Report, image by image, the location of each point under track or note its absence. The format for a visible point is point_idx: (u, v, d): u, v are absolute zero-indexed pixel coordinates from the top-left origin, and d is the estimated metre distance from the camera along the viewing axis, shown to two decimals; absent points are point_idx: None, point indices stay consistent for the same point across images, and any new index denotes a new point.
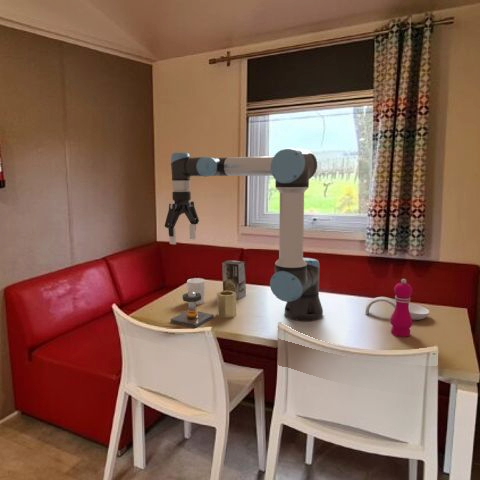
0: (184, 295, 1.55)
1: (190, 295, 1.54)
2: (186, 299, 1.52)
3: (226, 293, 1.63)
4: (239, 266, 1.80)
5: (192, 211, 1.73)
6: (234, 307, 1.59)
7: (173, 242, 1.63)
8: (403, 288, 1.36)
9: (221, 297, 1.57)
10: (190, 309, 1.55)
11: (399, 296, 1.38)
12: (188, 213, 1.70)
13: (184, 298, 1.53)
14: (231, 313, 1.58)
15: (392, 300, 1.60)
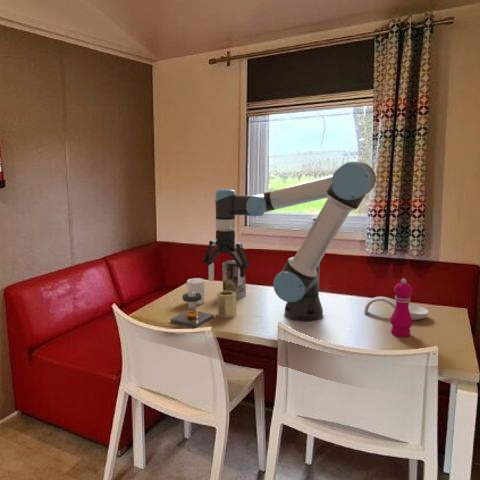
0: (184, 295, 1.55)
1: (190, 295, 1.54)
2: (186, 299, 1.52)
3: (226, 293, 1.63)
4: None
5: None
6: (234, 307, 1.59)
7: None
8: (403, 288, 1.36)
9: (221, 297, 1.57)
10: (190, 309, 1.55)
11: (399, 296, 1.38)
12: None
13: (184, 298, 1.53)
14: (231, 313, 1.58)
15: (391, 300, 1.60)
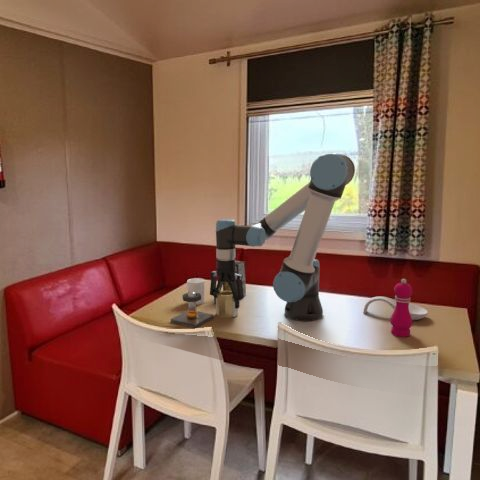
0: (184, 295, 1.55)
1: (190, 295, 1.54)
2: (186, 299, 1.52)
3: (226, 293, 1.63)
4: (239, 266, 1.80)
5: None
6: None
7: None
8: (403, 288, 1.36)
9: (221, 297, 1.57)
10: (190, 309, 1.55)
11: (399, 296, 1.38)
12: None
13: (184, 298, 1.53)
14: (231, 313, 1.58)
15: (390, 300, 1.61)
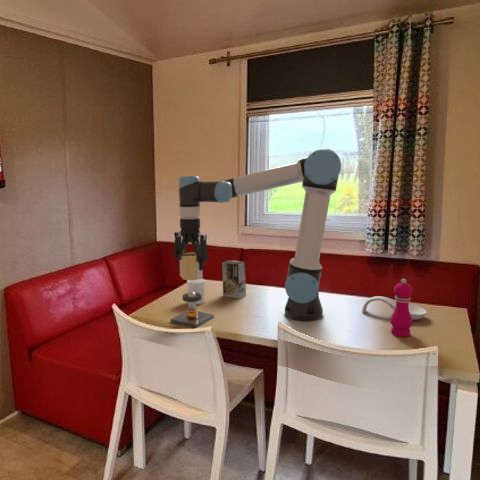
0: (184, 295, 1.55)
1: (190, 295, 1.54)
2: (186, 299, 1.52)
3: (191, 255, 1.55)
4: (239, 266, 1.80)
5: None
6: None
7: None
8: (403, 288, 1.36)
9: (184, 258, 1.50)
10: (190, 309, 1.55)
11: (399, 296, 1.38)
12: None
13: (184, 298, 1.53)
14: (195, 275, 1.51)
15: (389, 300, 1.61)
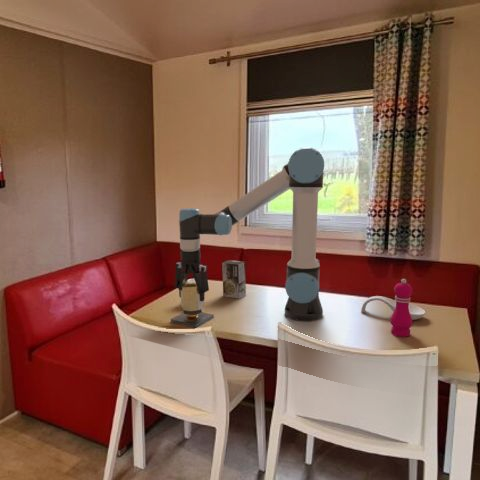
0: None
1: None
2: (186, 312, 1.53)
3: (192, 285, 1.57)
4: (239, 266, 1.80)
5: None
6: None
7: None
8: (403, 288, 1.36)
9: (185, 289, 1.52)
10: None
11: (399, 296, 1.38)
12: None
13: (184, 311, 1.54)
14: (196, 306, 1.53)
15: (388, 300, 1.61)
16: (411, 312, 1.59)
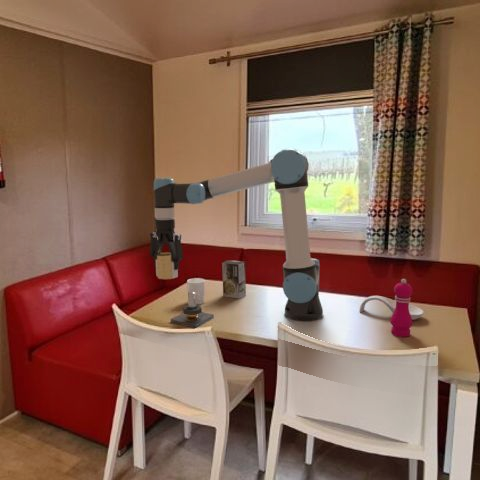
0: (184, 308, 1.56)
1: (190, 295, 1.54)
2: (186, 312, 1.53)
3: (167, 255, 1.60)
4: (239, 266, 1.80)
5: None
6: None
7: None
8: (403, 288, 1.36)
9: (159, 257, 1.54)
10: (190, 309, 1.55)
11: (399, 296, 1.38)
12: None
13: (184, 311, 1.54)
14: (170, 274, 1.55)
15: (387, 299, 1.61)
16: (410, 312, 1.59)
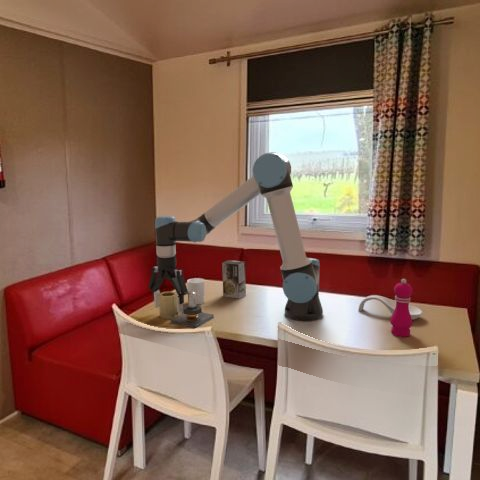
0: (184, 308, 1.56)
1: (190, 295, 1.54)
2: (186, 312, 1.53)
3: (169, 294, 1.63)
4: (239, 266, 1.80)
5: None
6: (175, 308, 1.59)
7: None
8: (403, 288, 1.36)
9: (161, 298, 1.57)
10: (190, 309, 1.55)
11: (399, 296, 1.38)
12: None
13: (184, 311, 1.54)
14: (172, 314, 1.58)
15: (386, 299, 1.61)
16: (409, 312, 1.59)
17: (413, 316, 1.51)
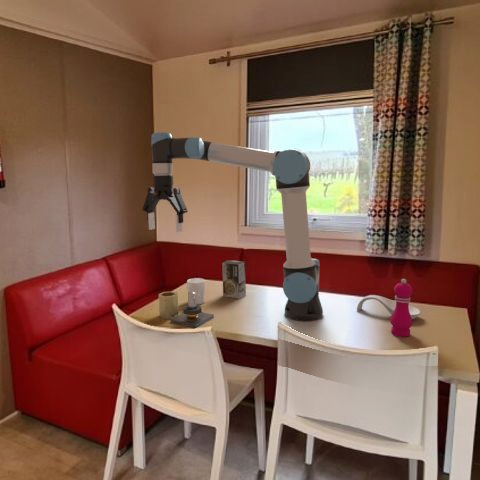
0: (184, 308, 1.56)
1: (190, 295, 1.54)
2: (186, 312, 1.53)
3: (169, 294, 1.63)
4: (239, 266, 1.80)
5: None
6: (175, 308, 1.59)
7: None
8: (403, 288, 1.36)
9: (161, 298, 1.57)
10: (190, 309, 1.55)
11: (399, 296, 1.38)
12: None
13: (184, 311, 1.54)
14: (172, 314, 1.58)
15: (384, 299, 1.62)
16: None
17: (411, 316, 1.51)
